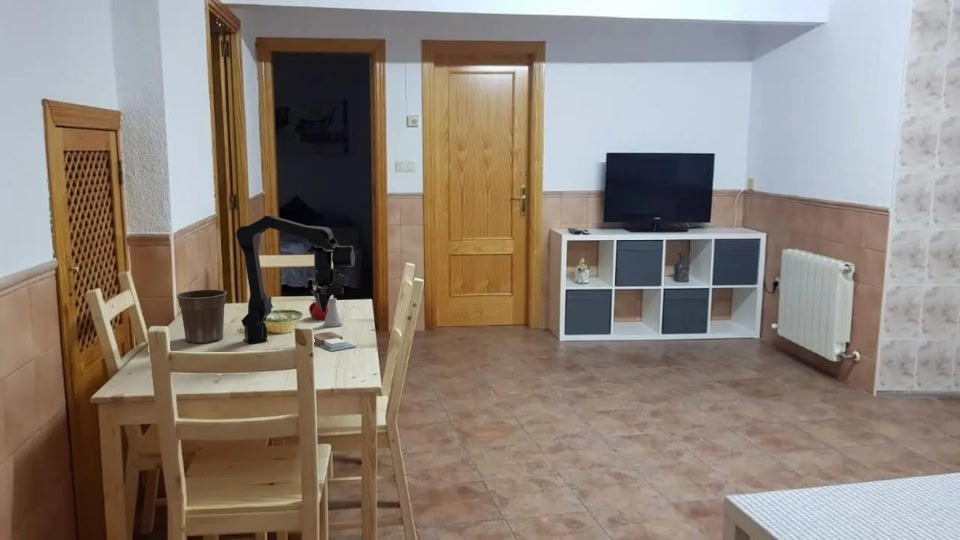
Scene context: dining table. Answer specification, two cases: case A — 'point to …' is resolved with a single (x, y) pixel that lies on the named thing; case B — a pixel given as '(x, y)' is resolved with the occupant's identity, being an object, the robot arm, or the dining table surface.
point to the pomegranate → (317, 311)
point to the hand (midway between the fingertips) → (323, 311)
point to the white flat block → (334, 343)
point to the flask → (332, 315)
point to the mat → (338, 347)
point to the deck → (325, 337)
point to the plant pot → (202, 314)
